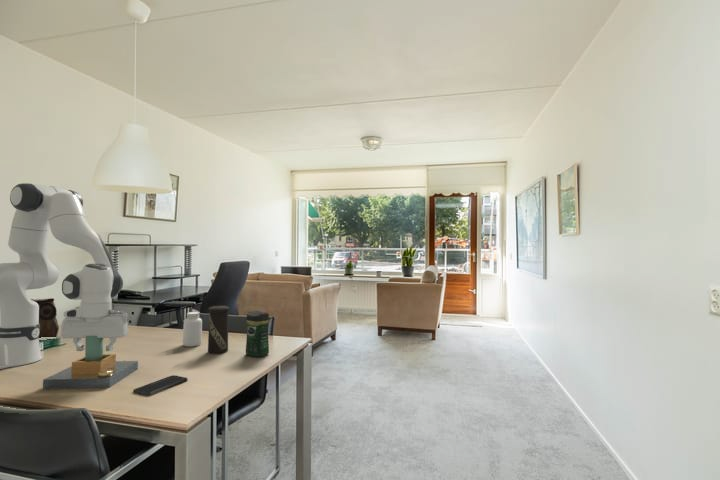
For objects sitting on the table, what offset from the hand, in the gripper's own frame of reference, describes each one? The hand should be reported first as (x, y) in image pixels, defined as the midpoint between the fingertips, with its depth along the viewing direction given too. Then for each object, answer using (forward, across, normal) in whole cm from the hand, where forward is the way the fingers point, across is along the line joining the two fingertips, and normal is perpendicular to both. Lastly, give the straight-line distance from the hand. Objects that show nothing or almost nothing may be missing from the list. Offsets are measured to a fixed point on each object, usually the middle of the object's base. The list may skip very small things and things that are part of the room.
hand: (94, 350), depth 125 cm
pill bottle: (+10, -18, -43) cm, 48 cm away
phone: (+10, -26, +9) cm, 29 cm away
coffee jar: (+10, -51, -25) cm, 58 cm away
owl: (+10, +58, -60) cm, 84 cm away
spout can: (+6, 0, 0) cm, 7 cm away
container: (+10, -33, -31) cm, 46 cm away
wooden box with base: (+10, 0, 0) cm, 10 cm away
